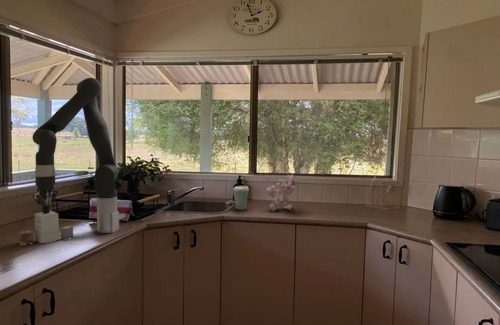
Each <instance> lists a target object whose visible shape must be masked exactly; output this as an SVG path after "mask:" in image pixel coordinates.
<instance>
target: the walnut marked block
mask: <svg viewBox="0 0 500 325" xmlns="http://www.w3.org/2000/svg"><path fill="white" fill-rule="evenodd" d="M34 241H35V239H34V231H33V230H32V229H31V230H25V231H24V230H23V231H19V232H18V243H19V244H20V245H21V244H30V243H34ZM34 244H35V243H34ZM20 245H19V246H20Z"/></svg>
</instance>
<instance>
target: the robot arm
mask: <svg viewBox="0 0 500 325" xmlns="http://www.w3.org/2000/svg"><path fill="white" fill-rule="evenodd" d="M101 92H102V85H101V82H100V80H98V79H96V78H94V77H87V78H84V79H83V80H81V81H79V83H78V84H77V86H76V92H75V94H74V95H73V96H72V97H71V98H70V99H69V100H68V101H66V103H65V104H63V105H62V106H60V107H59V108H58V110H56V111H55V112H54V114H53V115H52V116H51V117H50V118H49V119H48V120H46V121H45V122H44V123H43V124H42V125H40V126H39V127H38V128H37V129H36V130H35V131H34V132H33V134H32V138H31V139H32V141H33V143H34V144H36V145H38V151H37V152H36V153H35V169H34V170H35V171H34V174H35V176H34V177H35V178H34V179H35V183H34V184H35V186H36V187H37V189H36V193H35V194H32V198H33V199H34V201H36V203H37V205H38V206H42V207H41V208H42V211H41V213H43V214H48V213H50V211H51V205H52V204H53V203H54V202H55V200H56V198H57V196H58V194H59V190H56V189H55V187H54V186H55V185H56V167H55V153H56V148H57V143H58V142H57V133H59V132H61V131H63V130H65V128H67V126H68V125H70V123H71V122H72V121H73V119H75V117H77V115H78V114H79V113H80V111H81V110H82V112H83V116H84V117H83V118H84V121H85V126H86V131H87V134H88V139H89V143H90V144H91V146H92V148H93V150H94V152H95V153H96V155H97V158H98V164H99V167H97V168H96V169H95V172H94V188H95V193H96V217H97V218H96V221H97V222H96V223H97V226H96V227H97V231H96V232H97V233H99V234H100V233H101V234H108V233H109V234H111V233H112V234H113V233H115V232H117V231H119V230H120V212H119V210H118V191H117V190H116V180H117V179H118V178H119V169H118V166H117V164H116V161H115V157H114V154H113V149H112V143H111V139H110V133H109V128H108V124H107V122H106V121H105V118H104V117H103V115H102V113H101V111H100V109H99V106H98V101H97V100H98V99H97V97H98V96H99V95H100V94H101ZM51 203H52V204H51Z"/></svg>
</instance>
